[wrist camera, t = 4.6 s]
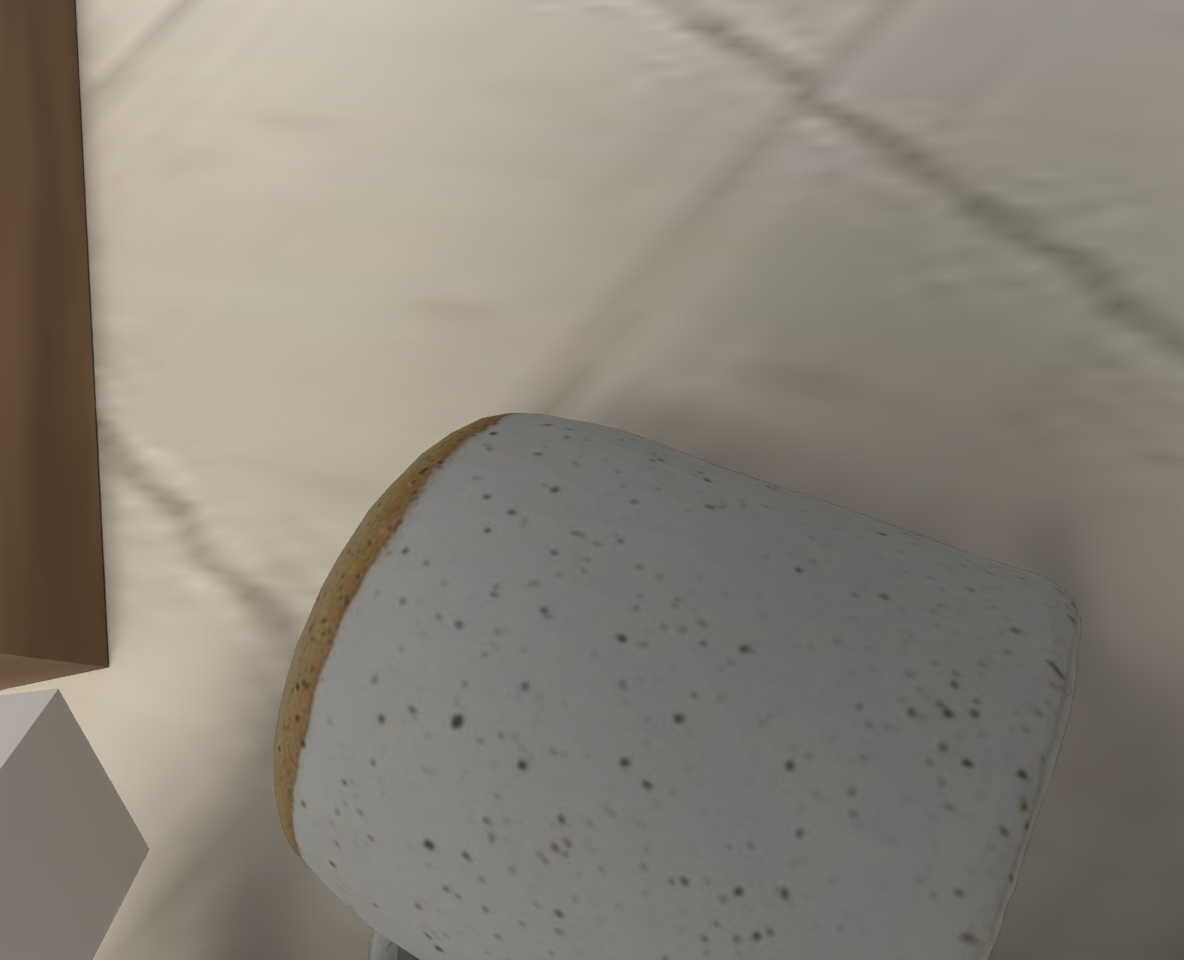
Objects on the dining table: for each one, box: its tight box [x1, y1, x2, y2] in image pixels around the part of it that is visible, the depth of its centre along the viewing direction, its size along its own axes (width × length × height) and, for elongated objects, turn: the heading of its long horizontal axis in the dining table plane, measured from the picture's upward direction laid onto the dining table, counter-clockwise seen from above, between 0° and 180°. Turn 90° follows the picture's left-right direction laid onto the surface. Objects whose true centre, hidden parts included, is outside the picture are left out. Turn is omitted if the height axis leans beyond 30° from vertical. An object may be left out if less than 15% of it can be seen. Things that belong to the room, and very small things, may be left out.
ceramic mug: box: [274, 413, 1081, 960], centre depth 14 cm, size 11×8×8 cm
